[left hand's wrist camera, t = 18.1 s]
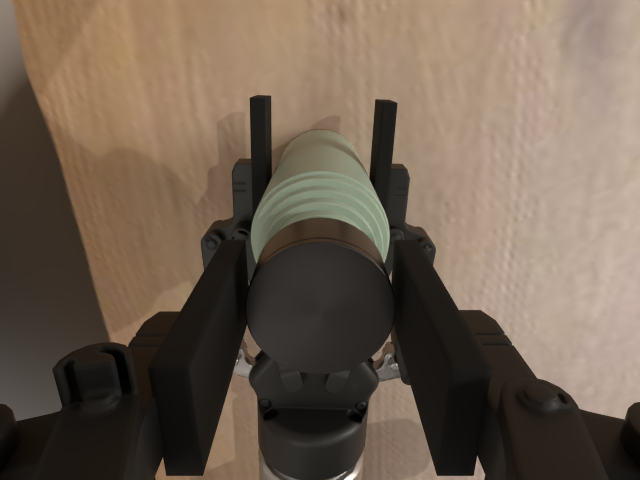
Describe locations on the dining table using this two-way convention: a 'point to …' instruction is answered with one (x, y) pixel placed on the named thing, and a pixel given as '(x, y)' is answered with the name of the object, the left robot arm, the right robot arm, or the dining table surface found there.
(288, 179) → the bottle
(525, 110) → the dining table surface
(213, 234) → the right robot arm
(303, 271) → the cap
